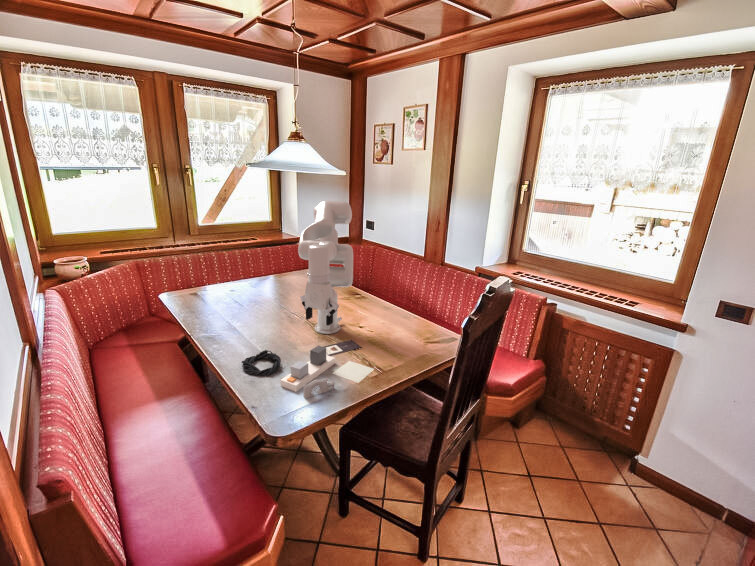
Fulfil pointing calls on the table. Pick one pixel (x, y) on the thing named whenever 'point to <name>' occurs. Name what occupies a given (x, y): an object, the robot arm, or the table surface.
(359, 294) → the table surface
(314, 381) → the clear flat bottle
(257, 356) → the cable
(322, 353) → the grey rectangular block
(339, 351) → the chocolate bar
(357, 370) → the mat
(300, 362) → the grey plug
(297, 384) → the long white plastic board
